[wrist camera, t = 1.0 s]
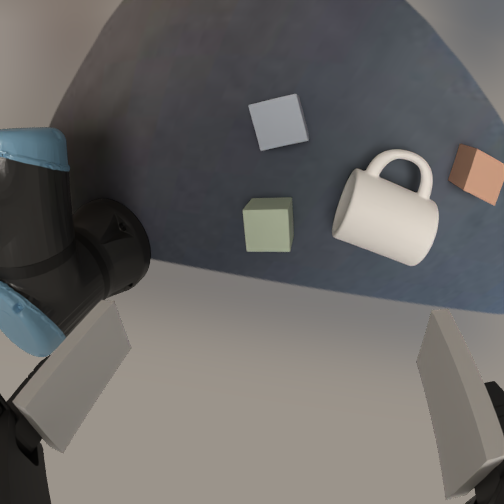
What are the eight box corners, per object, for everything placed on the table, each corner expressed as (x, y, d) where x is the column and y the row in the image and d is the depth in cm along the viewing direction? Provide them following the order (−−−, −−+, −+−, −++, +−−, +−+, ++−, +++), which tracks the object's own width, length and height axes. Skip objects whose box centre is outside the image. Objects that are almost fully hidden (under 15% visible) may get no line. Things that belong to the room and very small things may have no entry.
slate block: (268, 146, 36) (260, 150, 31) (257, 106, 34) (248, 105, 30) (309, 137, 34) (308, 140, 30) (299, 96, 33) (295, 93, 28)
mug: (400, 248, 37) (415, 279, 30) (330, 222, 38) (332, 248, 31) (436, 163, 32) (462, 177, 25) (363, 131, 33) (375, 136, 26)
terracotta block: (447, 180, 32) (463, 190, 28) (459, 143, 30) (477, 148, 26) (477, 194, 32) (494, 205, 28) (489, 159, 30) (508, 166, 25)
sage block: (255, 235, 41) (246, 251, 37) (251, 198, 39) (242, 210, 35) (293, 235, 40) (289, 251, 36) (292, 197, 38) (288, 209, 33)
